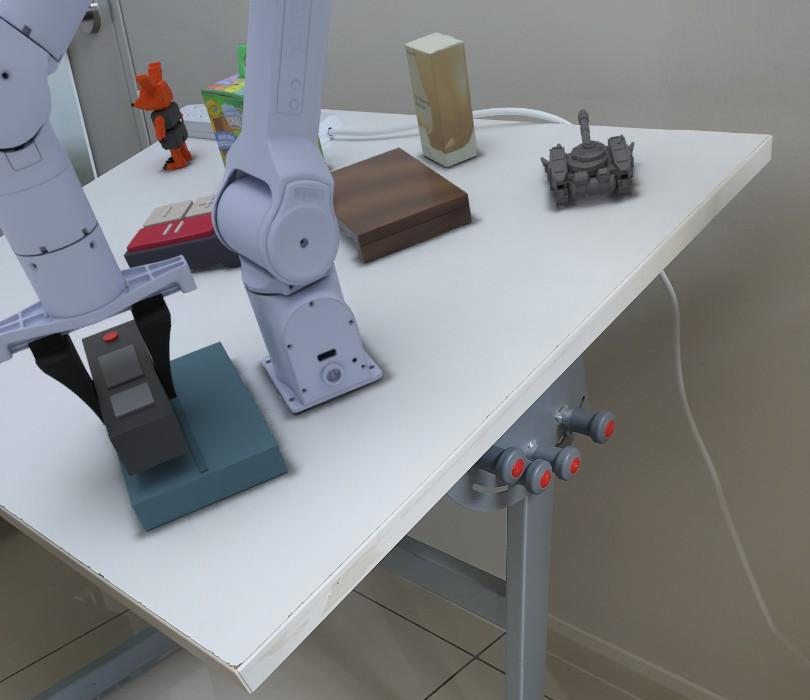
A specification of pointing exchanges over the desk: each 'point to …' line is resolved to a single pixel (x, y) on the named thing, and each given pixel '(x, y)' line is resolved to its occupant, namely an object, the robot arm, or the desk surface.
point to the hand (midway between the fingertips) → (139, 405)
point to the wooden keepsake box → (395, 203)
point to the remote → (133, 399)
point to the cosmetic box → (442, 98)
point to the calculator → (180, 237)
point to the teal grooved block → (207, 442)
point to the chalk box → (228, 106)
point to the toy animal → (163, 115)
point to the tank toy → (590, 166)
